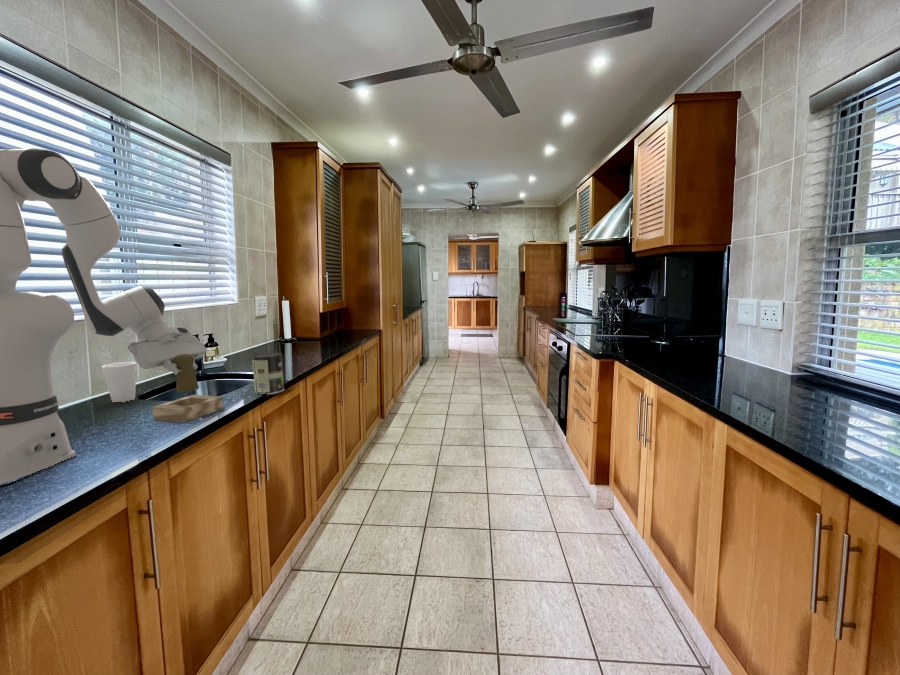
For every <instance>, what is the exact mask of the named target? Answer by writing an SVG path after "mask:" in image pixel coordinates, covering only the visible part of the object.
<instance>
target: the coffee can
mask: <svg viewBox="0 0 900 675" xmlns="http://www.w3.org/2000/svg"><path fill="white" fill-rule="evenodd" d="M282 356H283V354H282V352H264V353H257V354H256V353H255V354H253V355H251V359H252V360H251V361H252V370H253V382H254V393H255V392H256V393H267V395H266V396H271V395H276V394H279V393H282V392H284V391H285V383H284V374H283V373H284V371H283V370H284V369H283V358H282Z"/></svg>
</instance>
